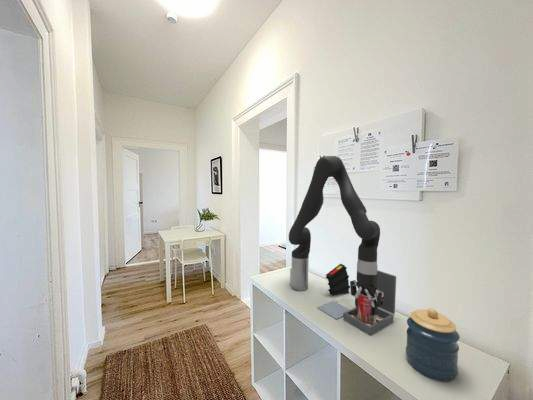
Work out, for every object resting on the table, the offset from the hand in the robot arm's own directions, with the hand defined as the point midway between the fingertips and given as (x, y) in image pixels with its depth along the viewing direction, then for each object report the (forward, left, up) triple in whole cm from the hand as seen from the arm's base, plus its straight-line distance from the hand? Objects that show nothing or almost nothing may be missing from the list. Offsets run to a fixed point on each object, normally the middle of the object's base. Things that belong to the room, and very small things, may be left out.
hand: (365, 310), depth 91 cm
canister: (+24, -3, -5) cm, 25 cm away
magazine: (-23, +11, -5) cm, 26 cm away
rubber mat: (-13, -3, -5) cm, 14 cm away
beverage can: (0, 0, -5) cm, 5 cm away
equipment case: (0, +2, -5) cm, 5 cm away
